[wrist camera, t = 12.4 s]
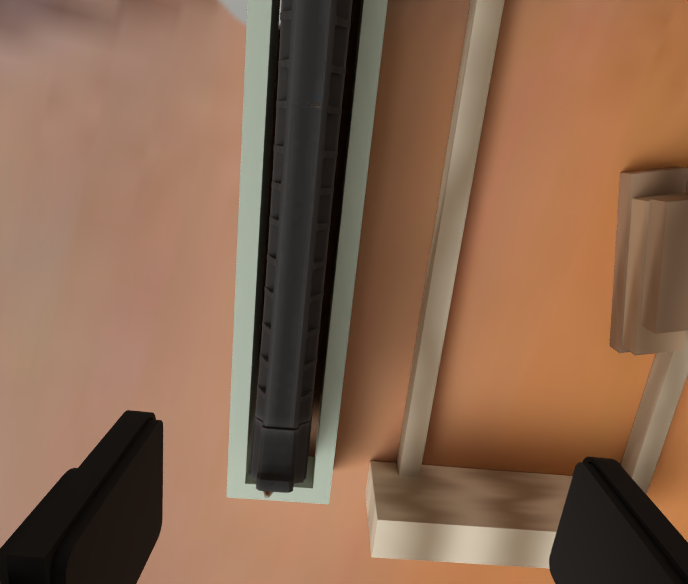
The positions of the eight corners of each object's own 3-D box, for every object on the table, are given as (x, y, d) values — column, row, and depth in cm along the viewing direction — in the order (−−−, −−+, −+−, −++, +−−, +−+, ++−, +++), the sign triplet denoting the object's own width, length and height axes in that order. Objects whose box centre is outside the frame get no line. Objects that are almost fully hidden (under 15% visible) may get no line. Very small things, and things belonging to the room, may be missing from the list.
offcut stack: (672, 166, 31) (726, 170, 27) (656, 339, 35) (702, 366, 31) (617, 172, 31) (662, 177, 27) (607, 344, 35) (646, 372, 31)
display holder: (393, -97, 26) (403, -131, 23) (329, 471, 37) (328, 504, 34) (264, -115, 26) (254, -153, 23) (236, 464, 37) (226, 497, 33)
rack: (819, -77, 27) (949, -135, 22) (624, 512, 39) (674, 576, 33) (454, -129, 26) (488, -205, 20) (365, 493, 38) (371, 557, 32)
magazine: (287, -220, 18) (209, 604, 18) (376, -206, 18) (299, 609, 18) (301, 30, 35) (261, 449, 35) (346, 36, 35) (307, 453, 35)
